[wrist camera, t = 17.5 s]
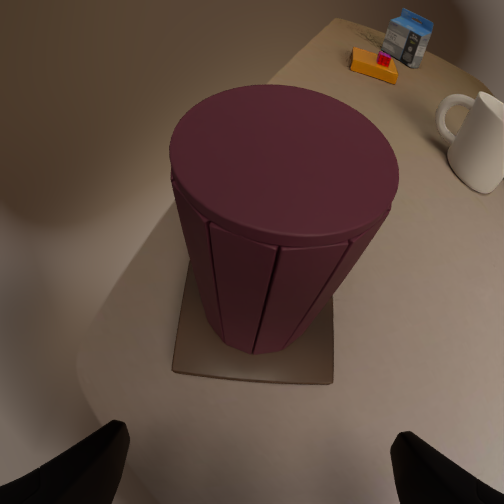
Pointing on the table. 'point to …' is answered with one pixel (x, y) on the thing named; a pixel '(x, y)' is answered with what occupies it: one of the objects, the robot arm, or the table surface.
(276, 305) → the maroon grooved cylinder
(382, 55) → the orange slab with cube
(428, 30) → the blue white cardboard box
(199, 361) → the hat stand
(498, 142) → the mug
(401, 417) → the table surface
